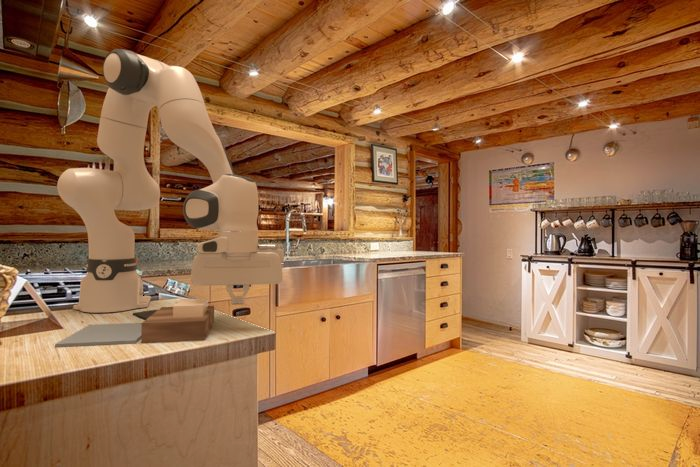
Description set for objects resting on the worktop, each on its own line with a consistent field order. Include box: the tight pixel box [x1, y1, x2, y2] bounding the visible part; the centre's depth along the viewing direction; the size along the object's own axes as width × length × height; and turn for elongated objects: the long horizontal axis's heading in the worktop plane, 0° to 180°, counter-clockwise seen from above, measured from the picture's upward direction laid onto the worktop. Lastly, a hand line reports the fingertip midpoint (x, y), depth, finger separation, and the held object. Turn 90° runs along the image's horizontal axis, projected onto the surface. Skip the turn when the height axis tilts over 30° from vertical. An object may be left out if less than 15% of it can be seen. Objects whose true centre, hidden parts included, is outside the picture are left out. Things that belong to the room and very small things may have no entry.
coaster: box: [172, 298, 209, 318], centre depth 85 cm, size 8×6×2 cm
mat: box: [54, 322, 142, 348], centre depth 81 cm, size 15×14×1 cm
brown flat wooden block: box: [140, 305, 215, 344], centre depth 85 cm, size 16×12×4 cm
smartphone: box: [132, 309, 159, 321], centre depth 98 cm, size 7×1×15 cm
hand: (238, 304), depth 87 cm, fingers closed
